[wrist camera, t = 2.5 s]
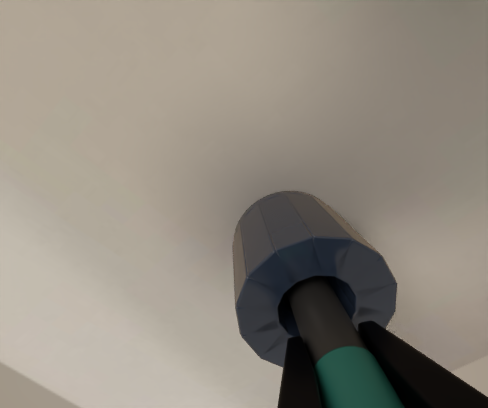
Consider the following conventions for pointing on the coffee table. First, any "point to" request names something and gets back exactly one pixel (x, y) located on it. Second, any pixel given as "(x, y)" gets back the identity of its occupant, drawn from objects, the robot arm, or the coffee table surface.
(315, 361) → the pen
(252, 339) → the pen cup
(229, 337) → the coffee table surface
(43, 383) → the coffee table surface
